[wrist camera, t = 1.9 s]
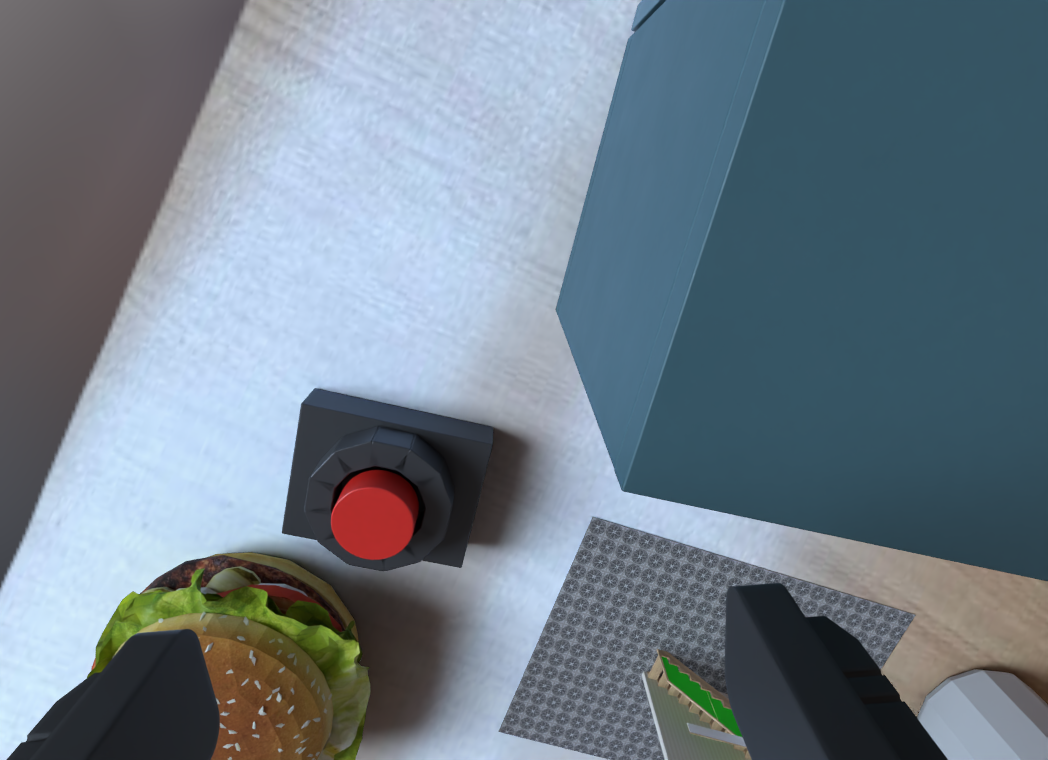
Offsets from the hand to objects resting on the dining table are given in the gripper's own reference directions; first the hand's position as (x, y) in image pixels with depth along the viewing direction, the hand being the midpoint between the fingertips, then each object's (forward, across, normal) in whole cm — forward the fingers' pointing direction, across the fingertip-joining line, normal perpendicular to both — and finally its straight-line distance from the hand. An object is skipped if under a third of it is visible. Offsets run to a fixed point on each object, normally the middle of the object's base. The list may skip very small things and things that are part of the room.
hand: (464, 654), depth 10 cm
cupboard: (+22, -12, -4) cm, 26 cm away
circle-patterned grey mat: (+22, -10, +22) cm, 33 cm away
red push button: (+19, +6, +7) cm, 21 cm away
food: (+22, +14, +17) cm, 32 cm away
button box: (+22, +6, +7) cm, 24 cm away
